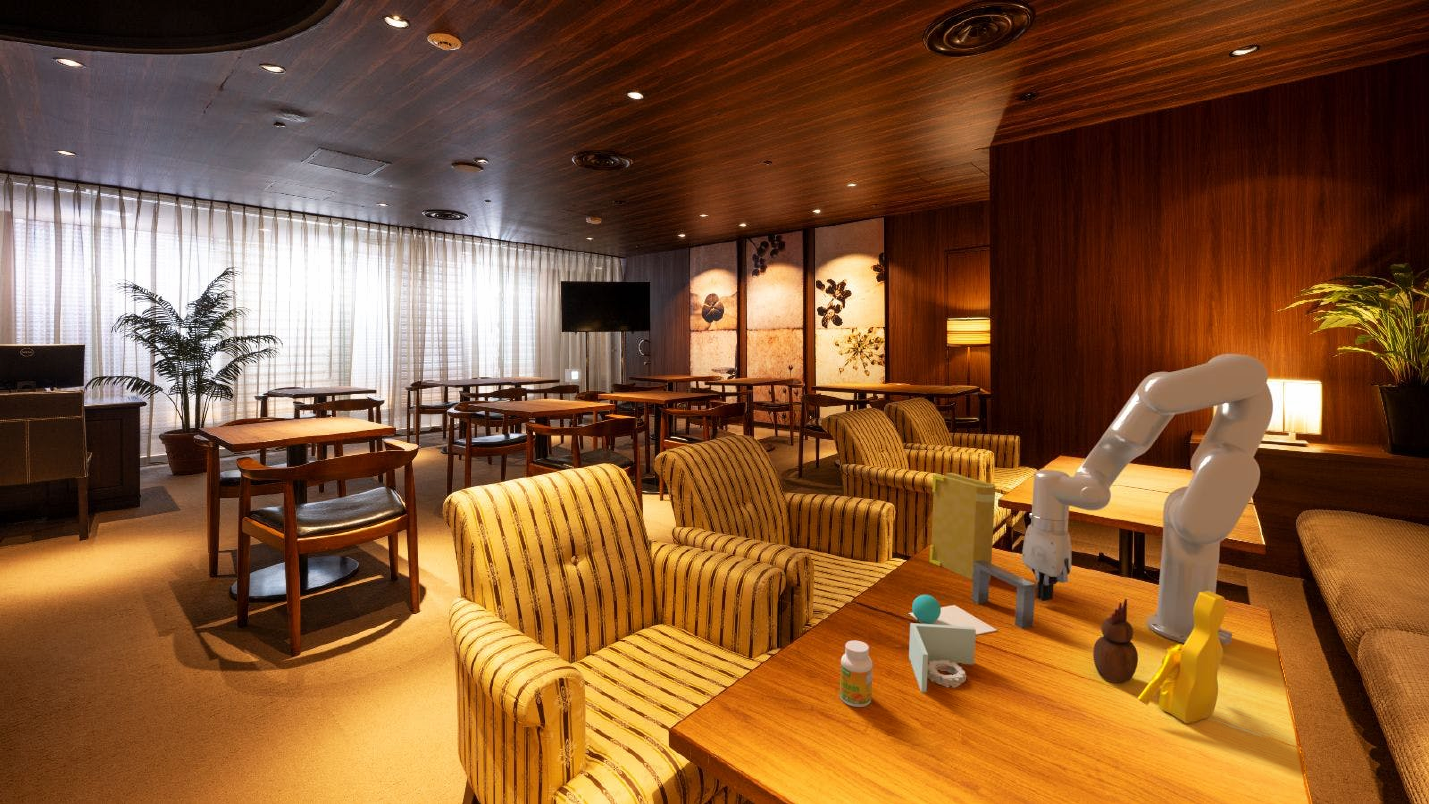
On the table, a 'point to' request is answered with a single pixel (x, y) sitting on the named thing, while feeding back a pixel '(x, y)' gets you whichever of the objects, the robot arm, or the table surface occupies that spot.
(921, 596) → the ball
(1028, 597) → the bridge
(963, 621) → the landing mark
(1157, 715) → the table surface
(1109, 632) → the wooden figurine
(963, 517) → the book
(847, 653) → the supplement bottle
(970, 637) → the l-shaped corner panel
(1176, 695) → the figure statuette
